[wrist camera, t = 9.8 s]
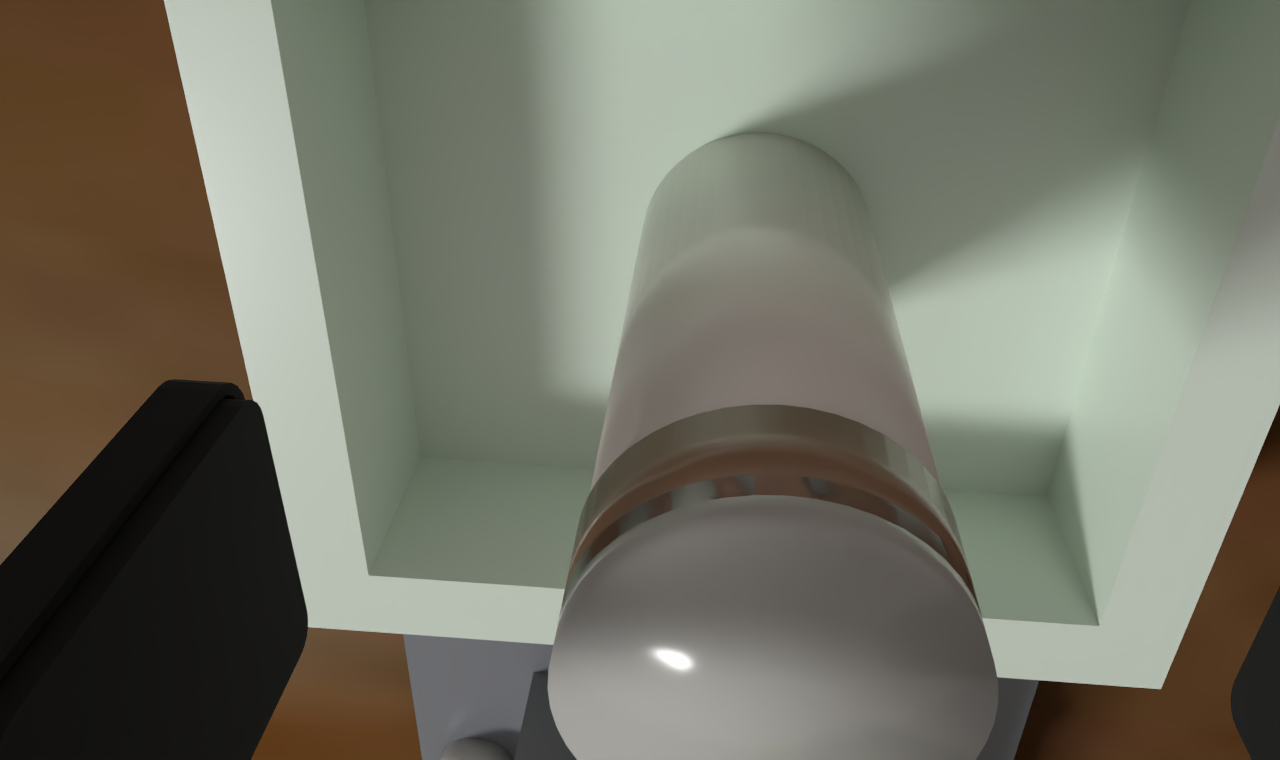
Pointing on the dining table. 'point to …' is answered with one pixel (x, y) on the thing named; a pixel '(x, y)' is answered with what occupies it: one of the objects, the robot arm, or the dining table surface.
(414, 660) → the block
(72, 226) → the dining table surface
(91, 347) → the dining table surface
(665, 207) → the cylinder
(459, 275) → the parts tray
